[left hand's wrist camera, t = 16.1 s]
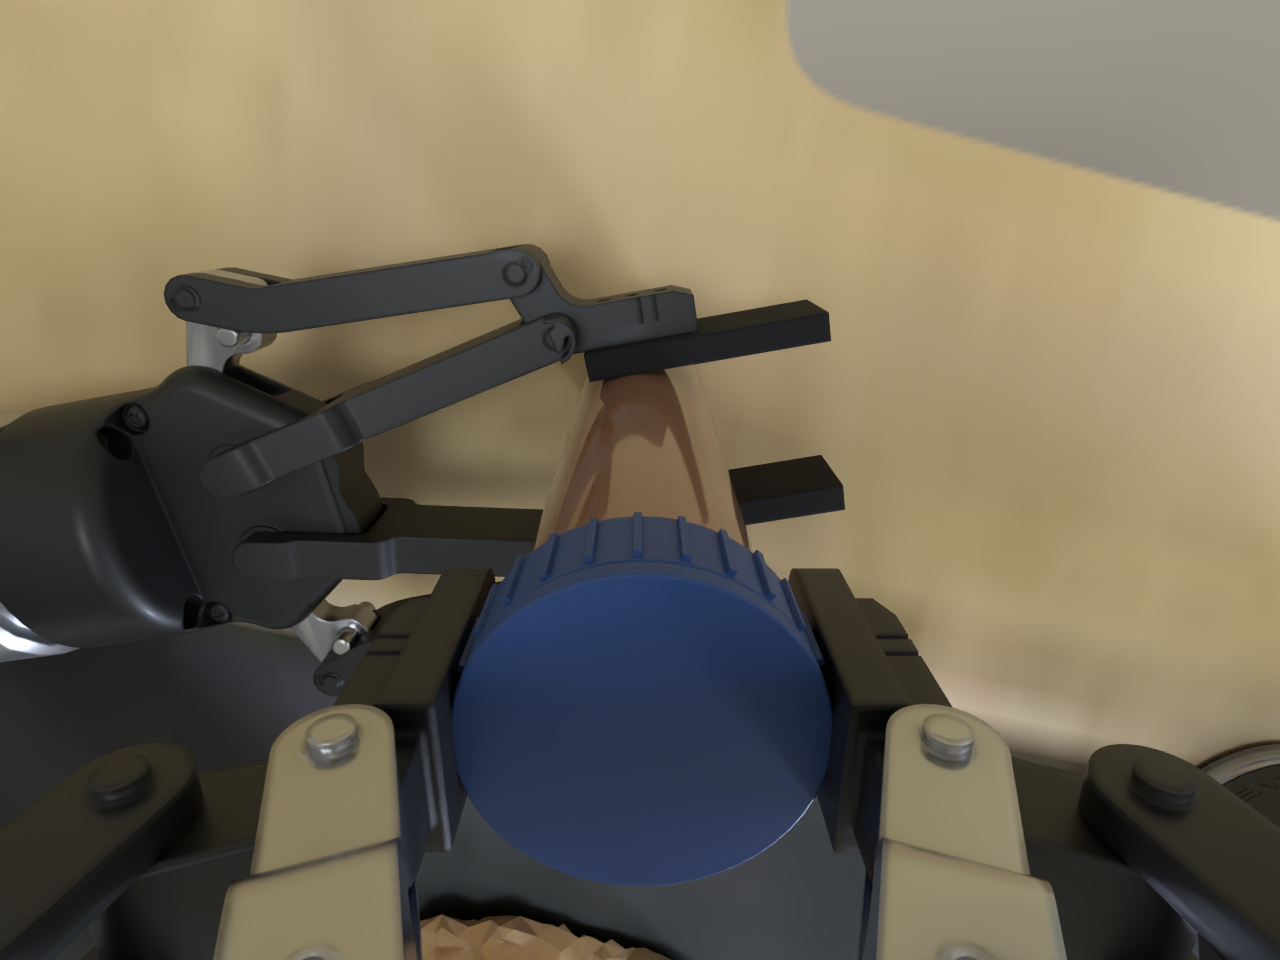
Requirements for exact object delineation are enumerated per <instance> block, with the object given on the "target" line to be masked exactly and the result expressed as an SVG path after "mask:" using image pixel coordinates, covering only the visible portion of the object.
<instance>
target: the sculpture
mask: <svg viewBox="0 0 1280 960" xmlns="http://www.w3.org/2000/svg"><path fill="white" fill-rule="evenodd" d="M420 927H421V939H422V951H423V960H671V959H669V958H667V957H665V956H663V955H661V954H658V953H655V952H653V951H651V950H649V949H647V948H634V947H632V948H628V949H624V948H623V947H622V946H620V945H619V944H617V943H616V942H615V941H613V940H612V939H611V940H609V941H608V942H606V943H605V944H604V943H602V942H601V941H599V940H597V939H596V938H594V937H590V936H586V935H583V936H581V937H580V938H578V937H576V936H575V935H573V934H572V933H571V932H570V930H569V929H568V928H567V927H566V926H565V925H564V924H562V925H561V926H559V927H556V926H554V925H552V924H542V923H539V922H536V921H533V920H530V919H528V918H525V917H522V916H491V917H484V918H482V919H480V920H478V921H476V920H475V919H474V920H465V921H463V920H459V919H456V918H453V917H449V916H446V915H443V914H441V915H438V916H435V917H432V918H428V919H425V920H422V921H420Z"/></svg>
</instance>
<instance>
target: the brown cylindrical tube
mask: <svg viewBox="0 0 1280 960" xmlns="http://www.w3.org/2000/svg"><path fill="white" fill-rule="evenodd" d="M634 512H642V516H653V517H664V518H671V519H678V516H684V517H686V521H687V522H690V523H694V524H698V525H701V526H704V527H707V528H709V529H712V530H714V531H717V532H719V530H720V529H723V530H725V531H727V533H728V537H729V538H731V539H733V540H734V541H736V542H738V543H740V544H741V545H743V546H745V547H746V548H747V549H749V550H750V551H751V552H752V553H754V551H753V547H752V544H751V541H750V538H749V535H748V532H747V528H746V525H745V522H744V519H743V516H742V513H741V509H740V506H739V503H738V500H737V497H736V494H735V491H734V487H733V484H732V481H731V478H730V475H729V472H728V468H727V465H726V462H725V459H724V456H723V453H722V449H721V446H720V443H719V440H718V437H717V434H716V430H715V427H714V424H713V421H712V418H711V415H710V411H709V408H708V405H707V402H706V399H705V396H704V393H703V389H702V386H701V383H700V380H699V377H698V374H697V370H696V367H695V364H694V365H688V366H682V367H676V368H670V369H664V370H659V371H653V372H647V373H641V374H635V375H629V376H624V377H618V378H612V379H606V380H600V381H594V382H589V378H588V373H587V376H586V379H585V382H584V385H583V388H582V391H581V394H580V397H579V401H578V404H577V407H576V410H575V413H574V416H573V419H572V422H571V426H570V429H569V432H568V435H567V438H566V441H565V444H564V447H563V451H562V454H561V457H560V460H559V463H558V466H557V469H556V473H555V476H554V479H553V482H552V485H551V488H550V491H549V494H548V498H547V501H546V504H545V507H544V510H543V513H542V516H541V519H540V523H539V526H538V529H537V532H536V535H535V538H534V541H533V544H532V548H531V551H530V553H531V552H532V551H534V550H535V549H536V548H538V547H539V546H541V545H542V544H544V543H545V542H547V541H548V539H549V535H550V534H552V533H554V532H557V534H558V535H560V534H562V533H564V532H566V531H569V530H572V529H574V528H577V527H580V526H583V525H586V524H588V523H589V521H590V519H591V518H595V517H597V518H598V521H602V520H606V519H611V518H620V517H630V516H634Z"/></svg>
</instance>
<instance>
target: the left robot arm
mask: <svg viewBox="0 0 1280 960" xmlns="http://www.w3.org/2000/svg"><path fill="white" fill-rule="evenodd" d="M493 584H495V576H494V572H493V570H492V568H446V569H445V570H444V571H443V573H442V575H441V577H440V579H439V580H438V582H437V584H436V586H435V588H434V590H433V592H432V594H431V596H430V597H429V598H411V599H409V600H408V601H406V602H405V603H404V604H402V605H401V606H400V607H398V608H397V609H396V610H394V611H393V612H391V613H390V614H389V615H388V616H387V618H386V619H385V621H384V623H383V624H382V626H381V628H380V629H379V631H378V633H377V634H376V638H374V639H373V641H372V643H371V644H370V646H369V647H368V649H367V651H366V655H364V656H363V657H362V659H361V661H360V662H359V664H358V666H357V667H356V669H355V671H354V672H353V674H352V676H351V677H350V679H349V681H348V682H347V684H346V685H345V687H344V689H343V690H342V692H341V694H340V695H339V697H338V699H337V700H336V702H335V704H334V705H333V706H332V707H328V708H324V709H322V710H319V711H316V712H313V713H311V714H309V715H307V716H305V717H303V718H301V719H299V720H298V721H296V722H295V723H293V724H292V725H290V726H289V727H288V728H287V729H286V730H284V731H283V732H282V733H281V734H280V736H279V737H278V738H277V739H276V740H275V742H274V744H273V746H272V748H271V751H270V754H269V757H268V758H265V759H262V760H258V761H254V762H250V763H246V764H241V765H237V766H232V767H228V768H223V769H218V770H214V771H209V772H205V773H200V774H198V773H197V769H196V765H195V762H194V758H193V756H192V754H191V753H190V751H189V750H188V749H186V748H185V747H183V746H181V745H178V744H174V743H167V742H152V743H144V744H139V745H134V746H130V747H126V748H123V749H120V750H117V751H114V752H112V753H109V754H107V755H104V756H102V757H100V758H98V759H96V760H94V761H92V762H90V763H89V764H87V765H85V766H83V767H82V768H80V769H79V770H78V771H76V772H75V773H73V774H72V775H70V776H69V777H68V778H66V779H65V780H64V781H62V782H61V783H60V784H58V785H57V786H56V787H54V788H53V789H52V790H50V791H49V792H48V793H46V794H45V795H44V796H42V797H41V798H40V799H38V800H37V801H36V802H34V803H33V804H32V805H30V806H29V807H28V808H26V809H25V810H24V811H22V812H21V813H20V814H18V815H17V816H15V817H14V818H13V819H11V820H10V821H9V822H7V823H6V824H5V825H3V826H2V827H1V828H0V960H54V959H55V958H56V957H57V956H58V955H59V954H60V953H61V952H62V951H63V950H64V949H65V948H66V947H67V946H68V945H69V944H70V943H71V942H72V941H73V940H74V939H75V938H76V937H77V936H78V935H79V934H81V933H82V932H83V931H84V930H85V929H86V928H87V927H88V929H89V932H90V935H91V937H92V940H93V943H94V945H95V946H94V947H93V948H92V949H91V950H90V951H89V952H88V953H87V954H86V955H85V956H84V957H83V958H82V959H81V960H423V951H422V939H421V927H420V915H419V903H418V893H417V886H416V876H417V873H418V870H419V867H420V864H421V861H422V858H423V855H424V852H451V849H452V845H453V842H454V838H455V835H456V831H457V828H458V824H459V821H460V817H461V814H462V811H463V807H464V804H465V800H466V797H467V793H466V792H465V790H464V788H463V785H462V783H461V780H460V778H459V776H458V769H457V761H456V752H455V743H454V734H453V724H452V713H451V708H452V702H453V698H454V694H455V690H456V687H457V684H458V681H459V679H460V676H461V674H462V672H458V670H457V666H458V664H459V661H460V658H461V656H462V653H463V651H464V648H465V646H466V643H467V641H468V638H469V636H470V633H471V631H472V628H473V626H474V623H475V620H476V618H477V617H480V615H481V612H482V609H483V607H484V604H485V602H486V599H487V597H488V594H489V591H490V589H491V587H492V586H493ZM789 584H790V586H791V589H792V592H793V594H794V597H795V599H796V602H797V605H798V607H799V610H800V612H801V611H805V614H806V616H807V619H808V621H809V624H810V626H811V629H812V631H813V634H814V636H815V639H816V641H817V644H818V646H819V649H820V651H821V654H822V656H823V659H824V662H825V665H821V666H819V667H820V669H821V672H822V675H823V677H824V680H825V683H826V686H827V689H828V691H829V694H830V699H831V704H832V709H833V720H832V731H831V740H830V749H829V757H828V765H827V772H826V776H825V778H824V781H823V783H822V785H821V787H820V789H819V791H818V793H817V796H818V800H819V803H820V806H821V810H822V813H823V816H824V820H825V823H826V826H827V830H828V833H829V837H830V840H831V843H832V847H833V850H834V853H861V855H862V858H863V861H864V864H865V867H866V872H865V879H864V886H863V893H862V903H861V915H860V927H859V939H858V951H857V960H1199V959H1198V958H1197V957H1196V956H1195V955H1194V954H1193V953H1192V952H1191V951H1192V948H1193V945H1194V943H1195V940H1196V937H1197V935H1198V941H1199V958H1200V960H1280V744H1272V745H1263V746H1258V747H1253V748H1249V749H1245V750H1241V751H1238V752H1235V753H1232V754H1230V755H1227V756H1225V757H1223V758H1220V759H1218V760H1216V761H1214V762H1212V763H1210V764H1209V765H1207V766H1205V767H1204V768H1202V769H1199V768H1197V767H1196V766H1194V765H1192V764H1190V763H1189V762H1187V761H1184V760H1182V759H1180V758H1178V757H1176V756H1173V755H1171V754H1168V753H1165V752H1163V751H1159V750H1156V749H1152V748H1148V747H1143V746H1138V745H1129V744H1117V745H1109V746H1106V747H1102V748H1100V749H1098V750H1097V751H1095V752H1094V753H1093V754H1092V755H1091V757H1090V760H1089V763H1088V766H1087V770H1086V774H1080V773H1075V772H1071V771H1066V770H1062V769H1057V768H1053V767H1048V766H1044V765H1039V764H1035V763H1031V762H1027V761H1023V760H1020V759H1018V758H1015V757H1012V756H1011V754H1010V751H1009V748H1008V746H1007V744H1006V742H1005V740H1004V739H1003V738H1002V737H1001V735H1000V734H999V733H998V732H997V731H996V730H994V729H993V728H992V727H991V726H990V725H988V724H987V723H985V722H984V721H982V720H981V719H979V718H977V717H975V716H973V715H971V714H969V713H967V712H964V711H961V710H958V709H956V708H953V707H952V706H951V704H950V703H949V701H948V699H947V698H946V696H945V694H944V693H943V691H942V690H941V688H940V686H939V685H938V683H937V681H936V680H935V678H934V677H933V675H932V673H931V672H930V670H929V668H928V667H927V665H926V664H925V662H924V660H923V659H922V657H921V656H918V651H917V649H916V647H915V646H914V644H913V642H912V641H911V639H908V634H907V633H906V631H905V629H904V628H903V626H902V625H901V623H900V621H899V620H898V618H897V616H896V615H895V614H893V613H892V612H890V611H889V610H888V609H886V608H885V607H884V606H882V605H881V604H879V603H878V602H877V601H875V600H874V599H873V598H854V596H853V594H852V592H851V590H850V588H849V586H848V585H847V583H846V581H845V579H844V577H843V575H842V573H841V572H840V570H839V569H792V570H791V572H790V576H789Z"/></svg>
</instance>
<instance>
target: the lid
mask: <svg viewBox="0 0 1280 960" xmlns="http://www.w3.org/2000/svg"><path fill="white" fill-rule="evenodd" d="M821 665H825V662H824V659H823V656H822V654H821V651H820V649H819V646H818V644H817V641H816V639H815V636H814V634H813V631H812V629H811V626H810V624H809V621H808V619H807V616H806V614H805V611H801V612H800V610H799V607H798V605H797V602H796V599H795V597H794V594H793V592H792V589H791V586H790V584H789V582H788V581H787V579H786V578H784V579H783V580H780V579H779V578H778V576H777V575H776V574H775V573H774V572H773V571H772V570H771V569H770V568H769V567H768V566H767V565H766V563H765V561H764V558H763V555H762V553H761V552H759V551H758V550H756V551H755V552H754V553H752V552H751V551H750V550H749V549H747V548H746V547H745V546H743V545H741V544H740V543H738V542H736V541H734V540H733V539H731V538H729V537H728V533H727V531H725V530H723V529H720V530H719V532H717V531H714V530H712V529H709V528H707V527H704V526H701V525H698V524H694V523H690V522H687V521H686V517H684V516H678V519H671V518H664V517H653V516H642V512H634V516H630V517H620V518H611V519H606V520H602V521H598V518H597V517H595V518H591V519H590V521H589V523H588V524H586V525H583V526H580V527H577V528H574V529H572V530H569V531H566V532H564V533H562V534H560V535H558V534H557V532H554V533H552V534H550V535H549V539H548V541H547V542H545V543H544V544H542V545H541V546H539V547H538V548H536V549H535V550H534V551H532V552H531V553H529V554H528V555H527V556H526V557H525V558H524V557H523V556H522V555H519V556H518V557H517V558H516V560H515V563H514V566H513V568H512V570H511V571H510V572H509V574H508V575H507V576H506V577H505V578H504V580H503V581H502V582H501V583H500V585H499V586H498V585H496V584H493V586H492V587H491V589H490V591H489V594H488V597H487V599H486V602H485V604H484V607H483V609H482V612H481V615H480V617H477V618H476V620H475V623H474V626H473V628H472V631H471V633H470V636H469V638H468V641H467V643H466V646H465V648H464V651H463V653H462V656H461V658H460V661H459V664H458V666H457V670H458V672H462V674H461V676H460V679H459V681H458V684H457V687H456V690H455V694H454V698H453V702H452V708H451V713H452V724H453V734H454V743H455V752H456V761H457V769H458V776H459V778H460V780H461V783H462V785H463V788H464V790H465V792H466V793H467V795H468V797H469V798H470V800H471V802H472V803H473V805H474V807H475V808H476V809H477V810H478V812H479V813H480V814H481V815H482V817H483V818H484V819H485V820H486V822H487V823H488V824H489V825H490V826H491V827H492V828H493V829H494V830H495V831H496V832H497V833H498V834H499V835H500V836H502V837H503V838H504V839H505V840H506V841H508V842H509V843H510V844H512V845H513V846H514V847H516V848H517V849H518V850H520V851H521V852H523V853H525V854H526V855H528V856H530V857H531V858H533V859H535V860H537V861H538V862H540V863H542V864H545V865H547V866H549V867H551V868H554V869H556V870H558V871H561V872H564V873H567V874H570V875H573V876H576V877H579V878H582V879H587V880H592V881H596V882H601V883H607V884H616V885H624V886H657V885H670V884H677V883H682V882H688V881H693V880H697V879H701V878H704V877H708V876H711V875H715V874H718V873H720V872H723V871H725V870H728V869H730V868H733V867H735V866H738V865H739V864H741V863H743V862H745V861H747V860H749V859H751V858H753V857H755V856H756V855H758V854H759V853H761V852H762V851H764V850H765V849H767V848H768V847H770V846H771V845H773V844H774V843H775V842H776V841H777V840H779V839H780V838H781V837H782V836H783V835H784V834H785V833H787V832H788V831H789V830H790V829H791V828H792V827H793V826H794V825H795V823H796V822H797V821H798V820H799V819H800V818H801V817H802V816H803V814H804V813H805V812H806V810H807V809H808V807H809V806H810V804H811V803H812V801H813V800H814V798H815V797H816V795H817V793H818V791H819V789H820V787H821V785H822V783H823V781H824V778H825V776H826V772H827V765H828V757H829V749H830V740H831V731H832V720H833V709H832V704H831V699H830V694H829V691H828V689H827V686H826V683H825V680H824V677H823V675H822V672H821V669H820V667H819V666H821Z"/></svg>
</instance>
